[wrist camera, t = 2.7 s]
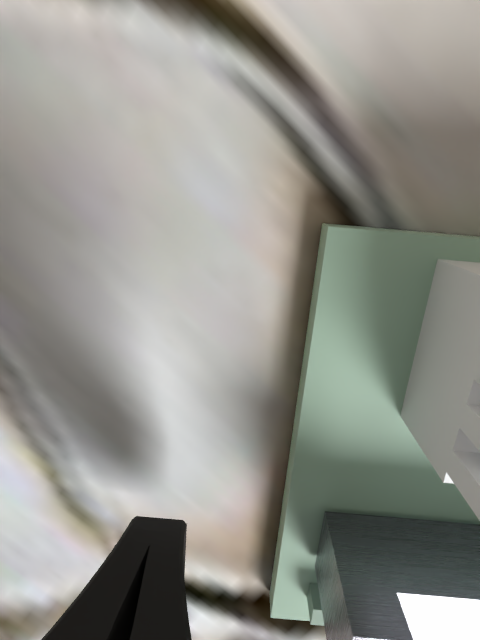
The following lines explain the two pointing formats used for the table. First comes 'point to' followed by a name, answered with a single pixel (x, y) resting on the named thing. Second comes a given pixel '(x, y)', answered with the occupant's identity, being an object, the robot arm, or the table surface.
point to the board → (382, 395)
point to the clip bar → (398, 578)
